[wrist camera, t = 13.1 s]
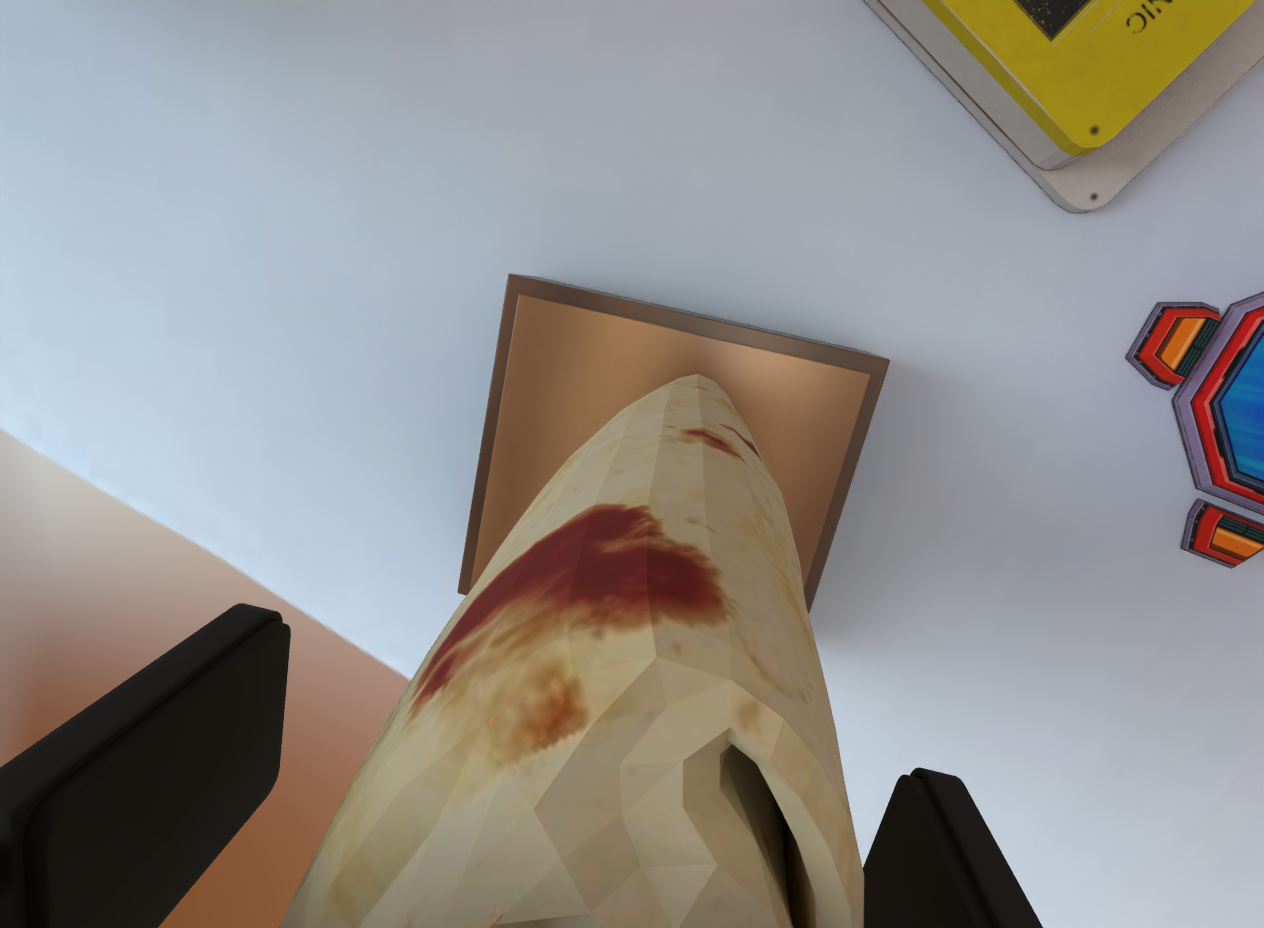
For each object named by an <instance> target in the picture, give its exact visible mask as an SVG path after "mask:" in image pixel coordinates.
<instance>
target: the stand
mask: <svg viewBox="0 0 1264 928" xmlns="http://www.w3.org/2000/svg"><path fill="white" fill-rule="evenodd" d="M889 362H890V360H889V359H886V358H883V357H880V356H877V355H874V354H871V353H868V352H865V351H861V350H857V349H852V348H848V347H843V346H839V345H835V344H830V343H826V342H821V341H817V340H812V339H808V338H804V337H799V336H795V335H790V334H786V333H781V332H777V331H773V330H768V329H764V328H759V327H755V326H750V325H746V324H742V323H737V322H733V321H728V320H724V319H720V318H715V317H711V316H706V315H702V314H697V313H693V312H689V311H684V310H680V309H675V308H671V307H666V306H662V305H658V304H653V303H649V302H644V301H640V300H635V299H631V298H627V297H622V296H618V295H613V294H609V293H604V292H600V291H596V290H591V289H587V288H582V287H578V286H574V285H569V284H565V283H560V282H556V281H551V280H547V279H543V278H538V277H534V276H525V275H517V274H509V275H508V280H507V286H506V293H505V299H504V305H503V311H502V318H501V324H500V330H499V336H498V343H497V349H496V355H495V361H494V368H493V374H492V380H491V386H490V392H489V399H488V405H487V411H486V417H485V424H484V430H483V436H482V442H481V449H480V455H479V461H478V467H477V474H476V480H475V486H474V492H473V498H472V505H471V511H470V517H469V523H468V530H467V536H466V542H465V548H464V555H463V561H462V567H461V573H460V580H459V586H458V593H459V594H463V595H468V593H469V592H470V591H471V589H472V588H473V587H474V585H475V584H476V582H477V581H478V579H479V578H480V576H481V575H482V573H483V572H484V570H485V569H486V567H487V565H488V564H489V562H490V561H491V559H492V558H493V556H494V555H495V553H496V552H497V550H498V549H499V547H500V546H501V545H502V543H503V542H504V540H505V539H506V538H507V536H508V535H509V533H510V532H511V531H512V529H513V528H514V526H515V525H516V524H517V522H518V521H519V520H520V518H521V517H522V516H523V514H524V513H525V511H526V510H527V509H528V507H529V506H530V505H531V503H532V502H533V501H534V499H535V498H536V497H537V495H538V494H539V493H540V491H541V490H542V489H543V488H544V487H545V485H546V484H547V483H548V482H549V481H550V479H551V478H552V477H553V476H554V475H555V473H556V472H557V471H558V470H559V469H560V468H561V466H562V465H563V464H564V463H565V462H566V461H567V460H568V458H569V457H570V456H571V455H573V454H574V453H575V452H576V451H577V450H578V449H579V448H580V447H581V446H582V445H584V444H585V443H586V442H587V441H588V440H589V439H590V438H591V437H592V436H594V435H595V434H596V433H597V432H598V431H599V430H600V429H601V428H602V427H603V426H605V425H606V424H607V423H608V422H609V421H610V420H611V419H612V418H613V417H615V416H616V415H617V414H618V413H619V412H620V411H621V410H623V409H624V408H626V407H627V406H629V405H631V404H632V403H634V402H636V401H637V400H639V399H641V398H642V397H644V396H646V395H647V394H649V393H651V392H653V391H654V390H656V389H658V388H660V387H662V386H664V385H666V384H668V383H670V382H672V381H674V380H676V379H678V378H680V377H685V376H690V375H695V374H700V375H702V376H704V377H707V378H709V379H711V380H713V381H715V382H716V383H717V384H718V385H719V386H720V387H721V388H722V389H723V391H724V392H725V393H726V394H727V395H728V396H729V397H730V400H731V402H732V404H733V406H734V408H735V410H736V411H737V413H738V414H739V415H740V416H741V417H742V418H743V420H744V422H745V424H746V426H747V428H748V430H749V432H750V434H751V436H752V438H753V440H754V442H755V444H756V446H757V448H758V450H759V452H760V454H761V456H762V458H763V460H764V462H765V464H766V467H767V469H768V471H769V473H770V474H771V476H772V478H773V479H774V481H775V483H776V484H777V486H778V487H779V489H780V491H781V492H782V496H783V500H784V503H785V507H786V510H787V514H788V518H789V522H790V526H791V530H792V534H793V538H794V542H795V546H796V550H797V554H798V557H799V561H800V568H801V576H802V583H803V590H804V597H805V602H806V607H807V611H808V615H809V613H810V610H811V606H812V603H813V600H814V597H815V594H816V591H817V588H818V585H819V581H820V578H821V575H822V572H823V569H824V566H825V563H826V559H827V556H828V553H829V550H830V547H831V544H832V541H833V538H834V534H835V531H836V528H837V525H838V522H839V519H840V516H841V512H842V509H843V506H844V503H845V500H846V497H847V494H848V491H849V487H850V484H851V481H852V478H853V475H854V472H855V469H856V466H857V462H858V459H859V456H860V453H861V450H862V447H863V444H864V440H865V437H866V434H867V431H868V428H869V425H870V422H871V419H872V415H873V412H874V409H875V406H876V403H877V400H878V397H879V393H880V390H881V387H882V384H883V381H884V378H885V375H886V372H887V368H888V365H889Z"/></svg>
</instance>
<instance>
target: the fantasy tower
mask: <svg viewBox="0 0 1264 928" xmlns="http://www.w3.org/2000/svg"><path fill="white" fill-rule="evenodd" d="M1126 359H1127V360H1128V361H1129V362H1130V363H1131V364H1132V365H1133V366H1134V367H1135V368H1136V369H1137V370H1138V371H1139V372H1140V373H1141V374H1142V375H1143V376H1144V377H1145V378H1146V379H1147V380H1148V381H1149V382H1150V383H1151V384H1152V385H1155V386H1157V387H1160V388H1162V389H1165V390H1167V391H1169V390H1170V389H1171V388H1173V387H1174V386H1175V385H1177V384H1178V383H1180V382H1181V381H1182V380H1184V379H1185V380H1184V381H1183V383H1182V385H1181V386H1180V388H1179V390H1178V391H1177V393H1176V394H1175V396H1174V398H1173V399H1172V403H1173V407H1174V410H1175V414H1176V417H1177V421H1178V425H1179V428H1180V432H1181V435H1182V439H1183V442H1184V446H1185V450H1186V453H1187V457H1188V460H1189V464H1190V468H1191V471H1192V475H1193V478H1194V482H1195V485H1196V489H1198V490H1201V491H1203V492H1206V493H1208V494H1211V495H1213V496H1216V497H1218V498H1221V499H1224V500H1226V501H1229V502H1231V503H1234V504H1236V505H1239V506H1241V507H1244V508H1246V509H1249V510H1252V511H1254V512H1257V513H1259V514H1262V515H1264V292H1262V293H1260V294H1257V295H1255V296H1252V297H1249V298H1247V299H1244V300H1242V301H1239V302H1237V303H1234V304H1232V305H1230V307H1229V309H1228V310H1227V312H1226V313H1225V315H1224V317H1223V318H1222V320H1220V315H1219V309H1218V308H1215V307H1213V306H1210V305H1208V304H1205V303H1202V302H1158V303H1157V305H1156V306H1155V308H1154V310H1153V312H1152V313H1151V315H1150V317H1149V318H1148V320H1147V322H1146V323H1145V325H1144V327H1143V329H1142V330H1141V332H1140V334H1139V335H1138V337H1137V339H1136V341H1135V342H1134V344H1133V346H1132V347H1131V349H1130V351H1129V352H1128V354H1127V356H1126ZM1181 549H1183V550H1185V551H1188V552H1190V553H1193V554H1195V555H1198V556H1201V557H1203V558H1206V559H1208V560H1211V561H1213V562H1216V563H1218V564H1221V565H1223V566H1226V567H1228V568H1231V569H1232V568H1233V567H1235V566H1237V565H1239V564H1241V563H1242V562H1244V561H1246V560H1247V559H1249V558H1250V557H1252V556H1254V555H1255V554H1257V553H1258V552H1260V551H1261V550H1263V549H1264V524H1262V523H1259V522H1257V521H1254V520H1252V519H1249V518H1247V517H1244V516H1241V515H1239V514H1236V513H1234V512H1231V511H1229V510H1226V509H1224V508H1221V507H1219V506H1216V505H1214V504H1211V503H1208V502H1206V501H1203V500H1201V499H1198V500H1197V501H1196V503H1195V504H1194V506H1193V507H1192V509H1191V510H1190V512H1189V514H1188V518H1187V523H1186V528H1185V532H1184V537H1183V542H1182V546H1181Z"/></svg>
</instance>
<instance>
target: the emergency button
mask: <svg viewBox="0 0 1264 928" xmlns="http://www.w3.org/2000/svg"><path fill="white" fill-rule="evenodd" d="M864 1H865V2H866V3H867V4H868V5H869V6H870V7H871V8H872V9H873V10H874V11H875V13H876V14H877V15H878V16H879V17H880V18H881V19H882V20H883V21H884V22H885V23H886V24H887V25H888V26H889V27H890V28H891V29H892V30H893V32H894V33H895V34H896V35H897V36H898V37H899V38H900V39H901V40H902V41H903V42H904V43H905V44H906V45H907V46H908V47H909V48H910V49H911V51H912V52H913V53H914V54H915V55H916V56H917V57H918V58H919V59H920V60H921V61H922V62H923V63H924V64H925V65H926V66H927V67H928V69H929V70H930V71H931V72H932V73H933V74H934V75H935V76H936V77H937V78H938V79H939V80H940V81H941V82H942V83H943V84H944V85H945V86H946V88H947V89H948V90H949V91H950V92H951V93H952V94H953V95H954V96H955V97H956V98H957V99H958V100H959V101H960V102H961V103H962V104H963V105H964V107H965V108H966V109H967V110H968V111H969V112H970V113H971V114H972V115H973V116H974V117H975V118H976V119H977V120H978V121H979V122H980V123H981V124H982V126H983V127H984V128H985V129H986V130H987V131H988V132H989V133H990V134H991V135H992V136H993V137H994V138H995V139H996V140H997V141H998V142H999V144H1000V145H1001V146H1002V147H1003V148H1004V149H1005V150H1006V151H1007V152H1008V153H1009V154H1010V155H1011V156H1012V157H1013V158H1014V159H1015V160H1016V161H1017V163H1018V164H1019V165H1020V166H1021V167H1022V168H1023V169H1024V170H1025V171H1026V172H1027V173H1028V174H1029V175H1030V176H1031V177H1032V178H1033V179H1034V180H1035V182H1036V183H1037V184H1038V185H1039V186H1040V187H1041V188H1042V189H1043V190H1044V191H1045V192H1046V193H1047V194H1048V195H1049V196H1050V197H1051V198H1052V199H1053V201H1054V202H1055V203H1056V204H1057V205H1059V206H1060V207H1062V208H1064V209H1065V210H1067V211H1069V212H1080V213H1085V212H1089V211H1092V210H1095V209H1097V208H1099V207H1101V206H1103V205H1105V204H1106V203H1108V202H1110V201H1111V200H1112V199H1113V198H1114V197H1115V196H1116V195H1117V194H1118V193H1119V192H1120V191H1121V190H1122V189H1123V188H1124V187H1126V186H1127V185H1128V184H1129V183H1130V182H1131V181H1132V180H1133V179H1134V178H1135V177H1136V176H1137V175H1138V174H1139V173H1140V172H1142V171H1143V170H1144V169H1145V168H1146V167H1147V166H1148V165H1149V164H1150V163H1151V162H1152V161H1153V160H1154V159H1155V158H1156V157H1158V156H1159V155H1160V154H1161V153H1162V152H1163V151H1164V150H1165V149H1166V148H1167V147H1168V146H1169V145H1170V144H1171V143H1172V142H1174V141H1175V140H1176V139H1177V138H1178V137H1179V136H1180V135H1181V134H1182V133H1183V132H1184V131H1185V130H1186V129H1187V128H1188V127H1190V126H1191V125H1192V124H1193V123H1194V122H1195V121H1196V120H1197V119H1198V118H1199V117H1200V116H1201V115H1202V114H1203V113H1204V112H1206V111H1207V110H1208V109H1209V108H1210V107H1211V106H1212V105H1213V104H1214V103H1215V102H1216V101H1217V100H1218V99H1219V98H1220V97H1222V96H1223V95H1224V94H1225V93H1226V92H1227V91H1228V90H1229V89H1230V88H1231V87H1232V86H1233V85H1234V84H1235V83H1236V82H1238V81H1239V80H1240V79H1241V78H1242V77H1243V76H1244V75H1245V74H1246V73H1247V72H1248V71H1249V70H1250V69H1251V68H1252V67H1254V66H1255V65H1256V64H1257V63H1258V62H1259V61H1260V60H1261V59H1262V58H1263V57H1264V0H864Z"/></svg>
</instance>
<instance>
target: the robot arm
mask: <svg viewBox="0 0 1264 928" xmlns="http://www.w3.org/2000/svg"><path fill="white" fill-rule="evenodd" d="M290 637H291V630H290V627H289V626H288V625H287V624H284V623H283V622H282V617H281V614H280V613H279V612H277V611H273V610H269V609H265V608H260V607H256V606H252V605H248V604H244V603H241V604H240V603H239V604H237V605H235V606H233V607H231V608H230V609H228V610H227V611H226V612H224V613H223V614H221V615H220V616H218V617H217V618H215V619H214V620H213V621H211V622H210V623H208V624H207V625H205V626H204V627H203V628H201V629H200V630H198V631H197V632H195V633H194V634H192V635H191V636H190V637H188V638H187V639H185V640H184V641H183V642H181V643H179V644H178V645H176V646H175V647H174V648H172V649H171V650H169V651H168V652H166V653H165V654H164V655H162V656H161V657H159V658H158V659H156V660H155V661H153V662H152V663H151V664H149V665H148V666H146V667H145V668H143V669H142V670H140V671H139V672H138V673H136V674H135V675H133V676H132V677H130V678H129V679H128V680H126V681H125V682H123V683H122V684H120V685H119V686H117V687H116V688H115V689H113V690H112V691H111V692H109V693H107V694H106V695H104V696H103V697H102V698H100V699H99V700H97V701H96V702H94V703H93V704H91V705H90V706H89V707H87V708H86V709H84V710H83V711H81V712H80V713H78V714H77V715H76V716H74V717H73V718H71V719H70V720H68V721H67V722H65V723H64V724H63V725H61V726H60V727H58V728H57V729H55V730H54V731H52V732H51V733H50V734H48V735H47V736H45V737H44V738H42V739H41V740H40V741H38V742H37V743H35V744H34V745H32V746H31V747H29V748H28V749H26V750H25V751H24V752H22V753H21V754H19V755H18V756H16V757H15V758H13V759H12V760H11V761H9V762H8V763H6V764H5V765H3V766H2V767H0V928H158V927H159V925H160V924H161V923H162V922H163V921H164V919H165V918H166V917H167V916H168V915H169V914H170V912H171V911H172V910H173V909H174V908H175V906H176V905H177V904H178V903H179V902H180V900H181V899H182V898H183V897H184V896H185V894H186V893H187V892H188V891H189V890H190V888H191V887H192V886H193V885H194V883H195V882H196V881H197V880H198V879H199V878H200V876H201V875H202V874H203V873H204V872H205V870H206V869H207V868H208V867H209V866H210V864H211V863H212V862H213V861H214V860H215V858H216V857H217V856H218V854H220V853H221V851H222V850H223V849H224V848H225V846H226V845H227V844H228V843H229V842H230V841H231V839H232V838H233V837H234V836H235V834H236V833H237V832H238V831H239V830H240V829H241V827H242V826H243V825H244V823H246V821H247V820H248V819H249V818H250V817H251V815H252V814H253V813H254V812H255V811H256V809H257V808H258V807H259V805H261V803H262V802H263V801H264V800H265V799H266V797H267V796H268V795H269V793H270V792H271V790H272V788H273V786H274V784H275V782H276V780H277V777H278V773H279V768H280V756H281V745H282V733H283V721H284V708H285V696H286V684H287V673H288V660H289V648H290ZM863 872H864V926H863V928H1043V927H1042V925H1041V923H1040V921H1039V919H1038V918H1037V916H1036V914H1035V912H1034V910H1033V908H1032V907H1031V905H1030V903H1029V901H1028V899H1027V898H1026V896H1025V894H1024V892H1023V890H1022V888H1021V887H1020V885H1019V883H1018V881H1017V879H1016V878H1015V876H1014V874H1013V872H1012V870H1011V868H1010V867H1009V865H1008V863H1007V861H1006V859H1005V858H1004V856H1003V854H1002V852H1001V850H1000V848H999V847H998V845H997V843H996V841H995V839H994V838H993V836H992V834H991V832H990V830H989V828H988V827H987V825H986V823H985V821H984V819H983V818H982V816H981V814H980V812H979V810H978V808H977V807H976V805H975V803H974V801H973V799H972V798H971V796H970V794H969V792H968V790H967V788H966V787H965V785H964V783H963V782H962V781H961V779H960V778H958V777H956V776H953V775H949V774H944V773H940V772H936V771H932V770H928V769H924V768H915V769H914V770H913V771H912V772H911V774H910V776H909V775H902V776H900V777H899V779H898V781H897V783H896V786H895V788H894V791H893V793H892V796H891V798H890V801H889V803H888V806H887V808H886V811H885V813H884V816H883V819H882V821H881V824H880V826H879V829H878V831H877V834H876V836H875V839H874V841H873V844H872V847H871V849H870V852H869V854H868V857H867V859H866V862H865V864H864V867H863Z"/></svg>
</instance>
